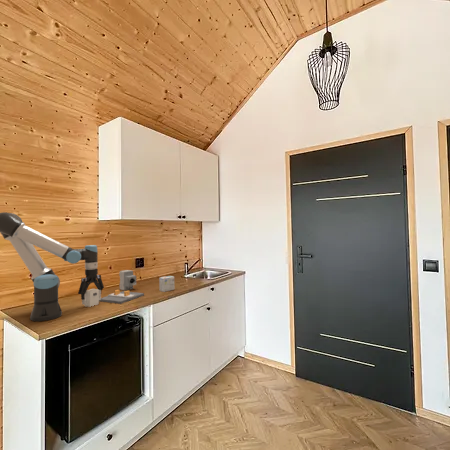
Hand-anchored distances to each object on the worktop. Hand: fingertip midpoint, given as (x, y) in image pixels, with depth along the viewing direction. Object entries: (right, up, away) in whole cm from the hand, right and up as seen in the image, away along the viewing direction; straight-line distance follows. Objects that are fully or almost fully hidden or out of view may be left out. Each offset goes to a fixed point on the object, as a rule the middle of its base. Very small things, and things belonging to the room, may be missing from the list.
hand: (91, 302), depth 180 cm
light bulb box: (+41, -2, +41) cm, 58 cm away
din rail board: (+13, -2, +17) cm, 22 cm away
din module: (0, -2, 0) cm, 2 cm away
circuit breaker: (+8, -3, +45) cm, 46 cm away
